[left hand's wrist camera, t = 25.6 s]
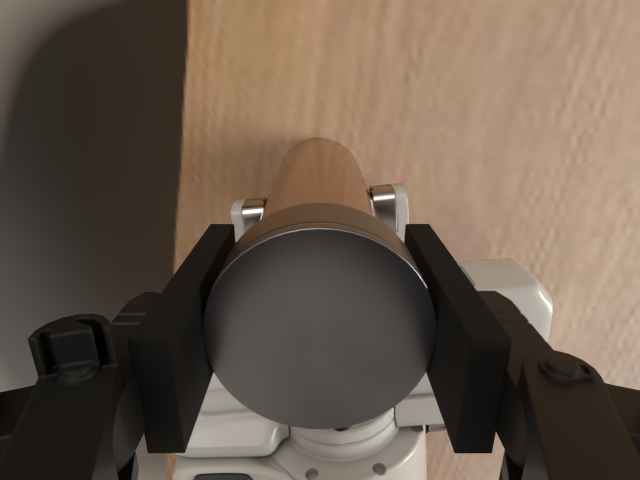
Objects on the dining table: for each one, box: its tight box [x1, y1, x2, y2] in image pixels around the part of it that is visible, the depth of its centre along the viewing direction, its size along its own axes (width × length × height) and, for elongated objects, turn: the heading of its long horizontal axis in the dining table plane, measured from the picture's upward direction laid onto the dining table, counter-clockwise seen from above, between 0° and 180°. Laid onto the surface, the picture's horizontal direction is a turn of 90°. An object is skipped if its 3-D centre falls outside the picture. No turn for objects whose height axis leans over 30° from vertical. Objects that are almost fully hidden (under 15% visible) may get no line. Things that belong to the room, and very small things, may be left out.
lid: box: [202, 203, 437, 429], centre depth 11 cm, size 6×6×2 cm
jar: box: [259, 139, 381, 221], centre depth 19 cm, size 5×5×16 cm
